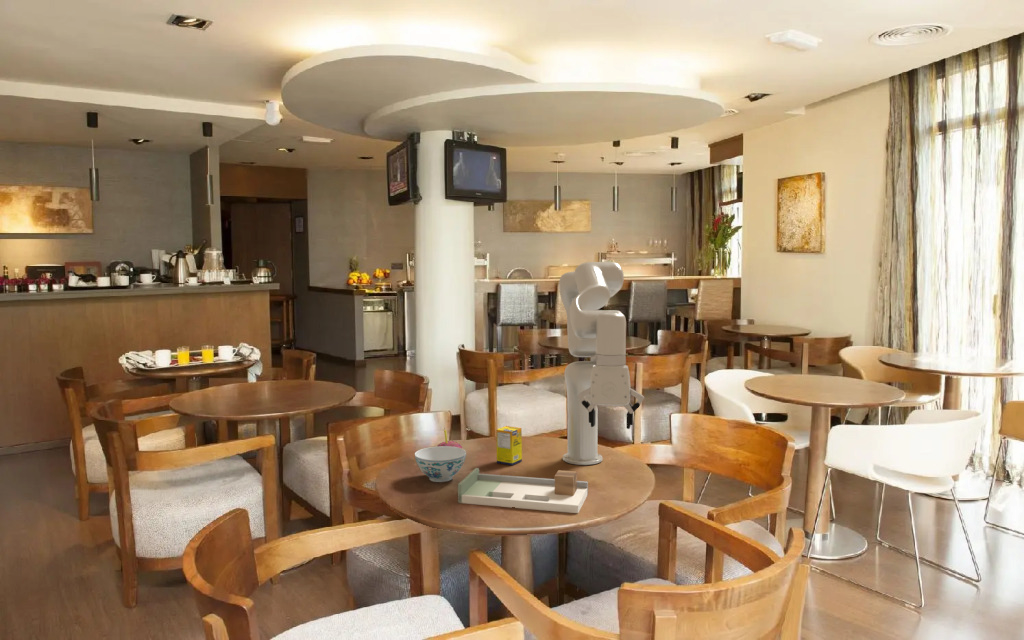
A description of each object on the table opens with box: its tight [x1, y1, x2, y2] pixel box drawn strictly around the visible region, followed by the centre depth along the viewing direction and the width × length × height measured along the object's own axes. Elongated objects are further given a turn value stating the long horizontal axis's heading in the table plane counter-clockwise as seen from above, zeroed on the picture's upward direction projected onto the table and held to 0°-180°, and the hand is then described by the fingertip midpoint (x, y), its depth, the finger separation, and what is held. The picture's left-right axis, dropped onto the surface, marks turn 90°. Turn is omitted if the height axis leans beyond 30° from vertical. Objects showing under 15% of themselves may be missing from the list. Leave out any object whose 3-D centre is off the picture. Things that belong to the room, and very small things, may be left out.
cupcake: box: [437, 427, 463, 449], centre depth 221 cm, size 9×8×12 cm
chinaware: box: [414, 445, 467, 483], centre depth 206 cm, size 15×15×8 cm
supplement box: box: [495, 425, 523, 466], centre depth 222 cm, size 6×6×11 cm
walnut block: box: [554, 469, 578, 496], centre depth 187 cm, size 5×5×5 cm
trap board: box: [457, 467, 589, 514], centre depth 188 cm, size 15×32×5 cm, turn 75°
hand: (610, 426), depth 182 cm, fingers open, 8 cm apart
